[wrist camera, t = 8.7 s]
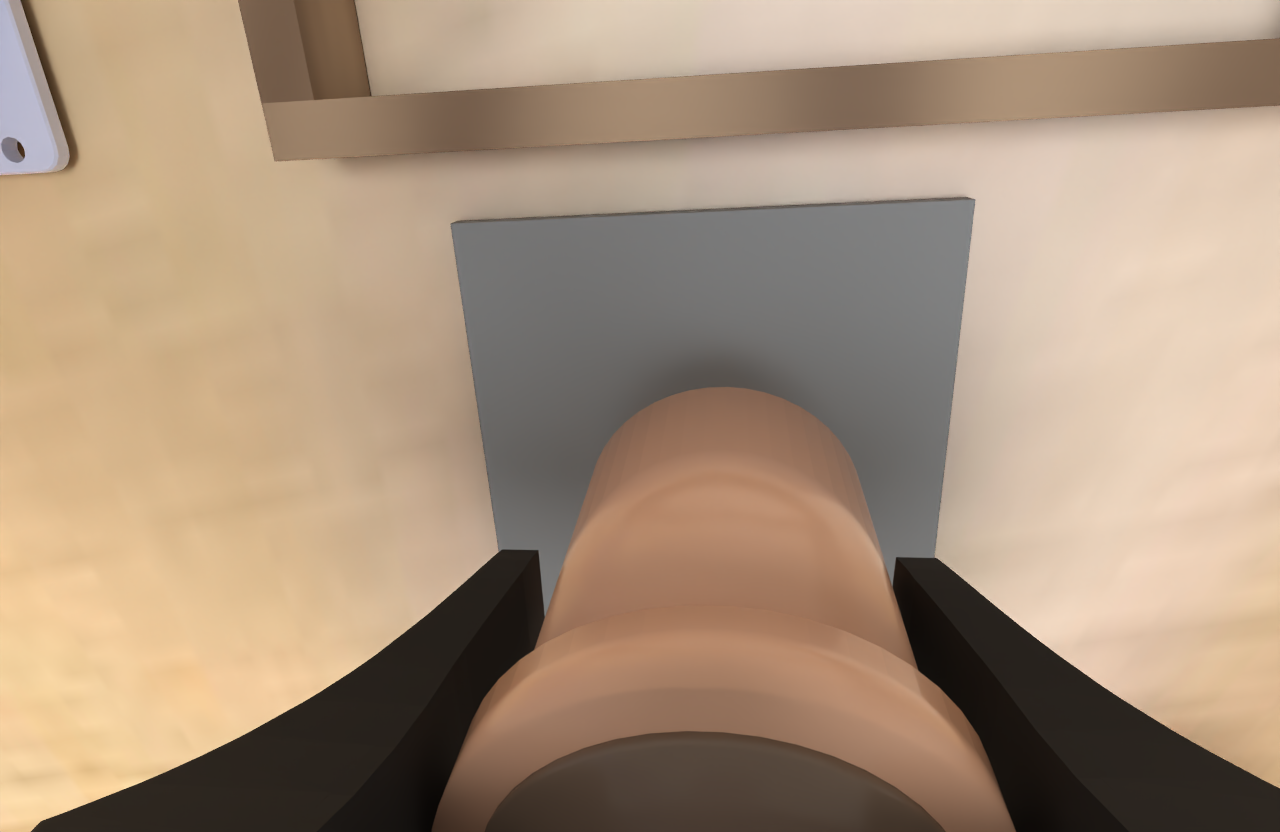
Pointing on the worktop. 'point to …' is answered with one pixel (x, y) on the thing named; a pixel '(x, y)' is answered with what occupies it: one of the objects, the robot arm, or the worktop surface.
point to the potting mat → (714, 343)
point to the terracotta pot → (722, 653)
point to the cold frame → (712, 93)
